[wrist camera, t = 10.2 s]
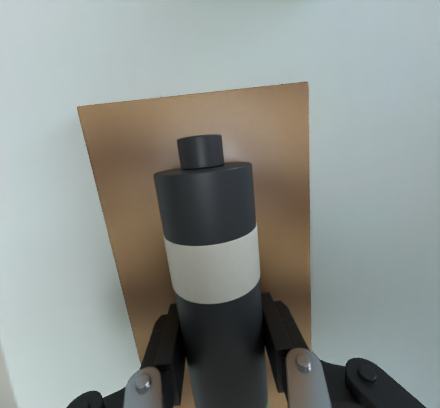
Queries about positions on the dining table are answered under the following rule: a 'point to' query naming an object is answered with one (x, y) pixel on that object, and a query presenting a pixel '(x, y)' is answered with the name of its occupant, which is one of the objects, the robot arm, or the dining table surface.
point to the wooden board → (169, 159)
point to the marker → (215, 272)
